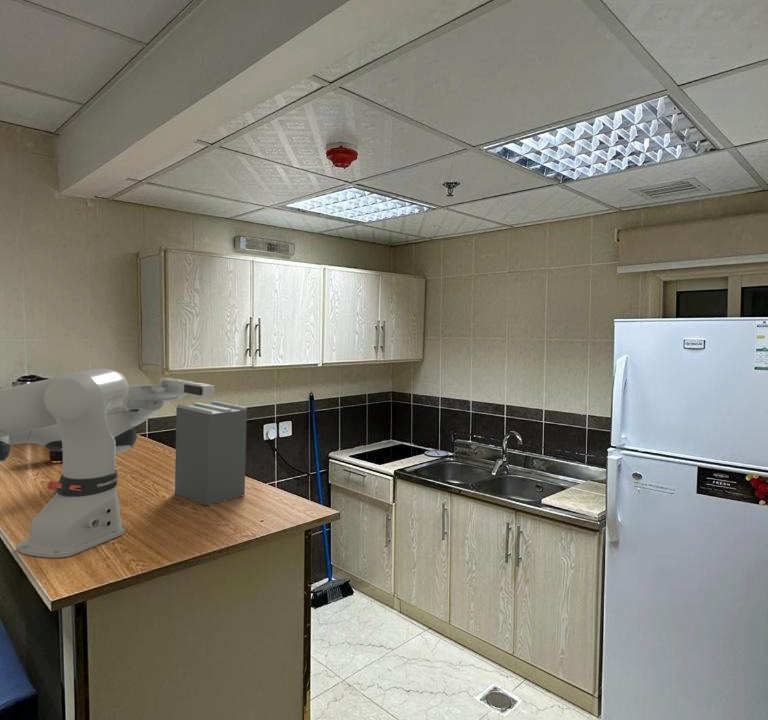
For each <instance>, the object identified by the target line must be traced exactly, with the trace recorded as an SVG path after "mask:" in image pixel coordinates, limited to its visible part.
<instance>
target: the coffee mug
mask: <svg viewBox="0 0 768 720" xmlns="http://www.w3.org/2000/svg"><path fill="white" fill-rule="evenodd" d="M48 455H49V461H50V460H51V461H63V452H61V451H51V450H48Z"/></svg>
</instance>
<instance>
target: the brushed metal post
mask: <svg viewBox="0 0 768 720" xmlns="http://www.w3.org/2000/svg"><path fill="white" fill-rule="evenodd" d="M159 381H164V382H165V387H163V388H160V389H162V390H167V391H172V392H177V393H182V394H187V395H188V396H192V397H198V398H202V399H211V398H215V389H216V388H215V387H216V386H215V385H213V384H209V383H203V382H197V381H191V380H185V379H179V378H173V377H160V378H159ZM187 395H186V396H187Z"/></svg>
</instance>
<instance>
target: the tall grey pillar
mask: <svg viewBox="0 0 768 720" xmlns="http://www.w3.org/2000/svg"><path fill="white" fill-rule="evenodd" d="M247 414H248V411H247V406H241V405H236V404H233V403H226V402H221V401H216V400H211V403H204V402H199V401H198V402H193V405H185V404H177V405H176V417H175V418H176V420H175V421H176V424H175V460H174V461H175V462H174V463H175V468H174V469H175V470H174V471H175V474H174V494H175V495H178V496H180V497H183V498H184V499H187V498H188V499H187V500H190V499H191V500H190V501H192V500H194V501H193V502H195V501H197V502H199V503H198V504H200V503H202V504H204V505H203V506H205V505H210V506H212V505H211V504H213V505H215V504H214V503H217V504H219V503H218V502H220V503H222V502H221V501H224V500H227V499H231V498H234V499H236V498H235V497H238V498H240V497H239V496H241V497H243V496H242V495H245V487H246V457H247V455H246V454H247V452H246V451H247V450H246V449H247V422H248V421H247V418H248V415H247ZM231 500H232V499H231ZM227 501H228V500H227ZM197 502H196V503H197ZM224 502H225V501H224ZM202 504H201V505H202Z"/></svg>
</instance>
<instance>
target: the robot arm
mask: <svg viewBox="0 0 768 720" xmlns="http://www.w3.org/2000/svg"><path fill="white" fill-rule="evenodd" d="M163 387H165V382H164V381H160V380H159V381H158V382H156V383H153V384H141V385H140V384H139V385H131V386H130V385H129V383H128V380H127V379H126V377H125V376H124V375H123V374H122V373H120V372H119V371H116V370H113V369H111V368H103V367H102V368H99V367H98V368H92V369H88V370H81V371H76V372H70V373H67V374H64V375H61V376H57V377H51V378H47V379H43V380H37V381H34V382H33V381H32V382H29V383H24V384H19V385H14V386H10V387H7V388H6V387H5V388H1V386H0V463H2V462H4V461H6V459H8V457H9V456H10V451H11V445H19V444H20V445H21V444H26V443H27V444H29V443H30V444H36V445H40V446H43V447H45V448H46V449H47V450H48V451H49V450H51V451H61V452H63V463H62V474H61V475H60V478H59V481H54V480H49V481H48V482H47V484H46V488H47V489H48V490H49V491H52V490H53V491H55V492H56V493H55V495H54V496H53V497H51V499H50V500H49V501H48V502H47V504H45V506H44V507H43V508H42V509H41V510H40V511H39V512H38V514H36V516H34V517H33V519H32V521H31V523H30V528H29V535H28V536H29V537H26V539H24V540H22V541H21V542H19V543H17V544H16V551H17V552H19V553H20V554H24V555H26V556H27V555H28V556H32V557H37V558H38V557H39V558H53V559H55V558H67V557H72V556H74V555H76V554H78V553H81V552H84V551H86V550H88V549H91V548H94V547H96V546H98V545H100V544H102V543H105V542H108V541H110V540H113V539H115V538H118V537H120V536H122V535H124V534H125V532H126V531H125V528H124V527H123V524H122V518H121V517H122V516H121V509H120V508H121V507H120V500H119V496H118V493H117V489H116V487H117V485H118V477H119V476H118V470H117V469H116V453H123V452H126V451H128V450H130V449H132V448H133V447H134V445H135V444H136V442H137V439H138V435H137V432H136V430H135V427H137V426H138V425H141V424H142V423H144V422H145V421H147V420H148V419H149V418H150V417H151V416H152V415H155V414H156V413H157V412H158V411H159V410H161V408H163V406H164V403H165V402H174V401H178V400H179V401H180V400H181V399H182V398H183V399H184V398H185V397H186V396H187V394H182V393H177V392H172V391H167V390H162V389H160V388H163Z"/></svg>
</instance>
